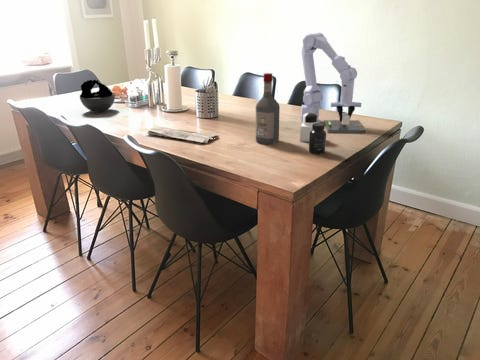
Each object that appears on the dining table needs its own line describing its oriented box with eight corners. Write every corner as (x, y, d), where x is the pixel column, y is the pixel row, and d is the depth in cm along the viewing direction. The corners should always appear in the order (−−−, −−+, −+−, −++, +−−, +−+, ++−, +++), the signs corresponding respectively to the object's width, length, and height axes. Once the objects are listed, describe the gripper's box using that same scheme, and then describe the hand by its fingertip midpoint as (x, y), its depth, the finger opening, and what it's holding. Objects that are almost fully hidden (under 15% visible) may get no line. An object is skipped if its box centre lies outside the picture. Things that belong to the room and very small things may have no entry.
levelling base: (327, 132, 189) (328, 127, 188) (323, 123, 205) (323, 117, 204) (365, 133, 187) (366, 127, 186) (358, 123, 204) (359, 117, 203)
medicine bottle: (317, 138, 182) (319, 112, 177) (315, 142, 175) (316, 116, 171) (302, 136, 184) (303, 111, 179) (299, 141, 178) (300, 115, 173)
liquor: (271, 145, 173) (272, 76, 161) (253, 142, 177) (253, 74, 165) (280, 140, 180) (282, 73, 168) (263, 137, 184) (263, 71, 172)
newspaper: (218, 138, 185) (218, 131, 183) (204, 146, 174) (204, 138, 173) (159, 130, 200) (158, 123, 198) (142, 136, 189) (142, 129, 188)
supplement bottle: (306, 149, 167) (308, 122, 162) (322, 149, 167) (324, 121, 163) (310, 155, 161) (312, 126, 156) (327, 154, 161) (329, 126, 156)
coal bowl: (87, 108, 245) (81, 78, 238) (119, 107, 247) (115, 76, 239) (78, 116, 227) (72, 83, 219) (113, 115, 229) (109, 82, 221)
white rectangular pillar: (342, 127, 192) (343, 116, 190) (339, 122, 200) (340, 111, 198) (348, 127, 192) (349, 116, 189) (345, 122, 200) (346, 111, 198)
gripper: (332, 95, 187) (330, 123, 192) (363, 95, 185) (360, 123, 191) (330, 92, 193) (328, 119, 198) (360, 92, 192) (358, 119, 197)
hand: (344, 121), depth 195 cm, fingers closed on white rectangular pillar, 3 cm apart
